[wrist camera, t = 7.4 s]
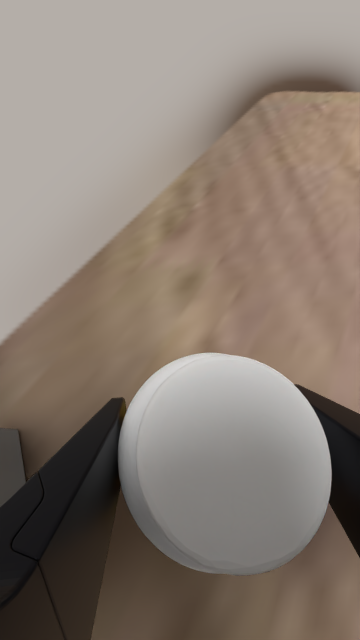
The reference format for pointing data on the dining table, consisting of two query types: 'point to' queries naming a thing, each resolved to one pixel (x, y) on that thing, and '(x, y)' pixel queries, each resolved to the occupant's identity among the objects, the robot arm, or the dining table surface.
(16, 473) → the door
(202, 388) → the supplement bottle
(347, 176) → the dining table surface
